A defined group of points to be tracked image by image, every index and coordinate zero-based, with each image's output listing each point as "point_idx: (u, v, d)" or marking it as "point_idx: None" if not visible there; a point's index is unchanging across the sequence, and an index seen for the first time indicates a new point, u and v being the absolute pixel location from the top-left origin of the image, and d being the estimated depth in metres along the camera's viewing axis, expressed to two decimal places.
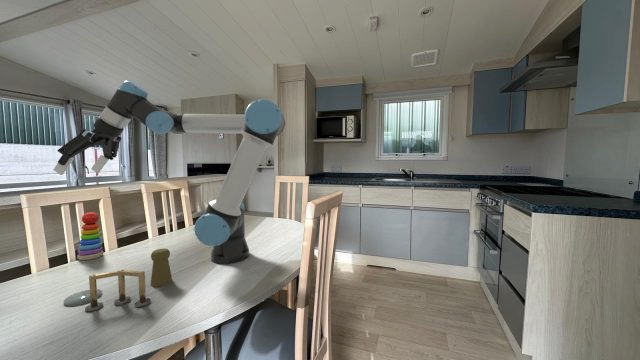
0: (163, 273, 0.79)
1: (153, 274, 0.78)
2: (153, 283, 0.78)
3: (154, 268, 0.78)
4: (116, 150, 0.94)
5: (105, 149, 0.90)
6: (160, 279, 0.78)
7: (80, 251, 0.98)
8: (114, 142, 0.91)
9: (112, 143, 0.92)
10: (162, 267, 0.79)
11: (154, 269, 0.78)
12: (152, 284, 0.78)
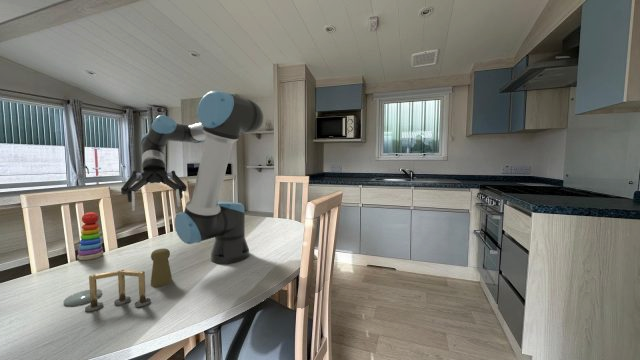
0: (163, 273, 0.79)
1: (153, 274, 0.78)
2: (153, 283, 0.78)
3: (154, 268, 0.78)
4: (180, 181, 0.97)
5: (168, 183, 0.95)
6: (160, 279, 0.78)
7: (80, 251, 0.98)
8: (173, 177, 0.98)
9: (174, 180, 0.98)
10: (162, 267, 0.79)
11: (154, 269, 0.78)
12: (152, 284, 0.78)
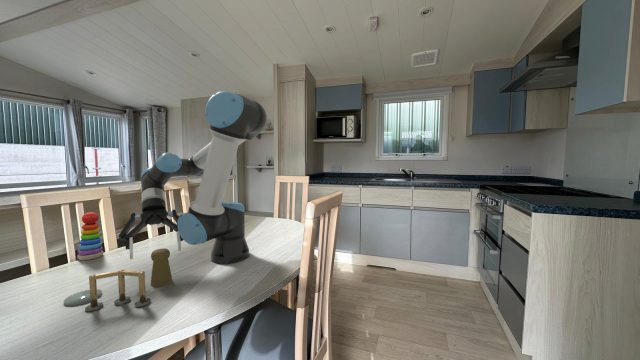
0: (163, 273, 0.79)
1: (153, 274, 0.78)
2: (153, 283, 0.78)
3: (154, 268, 0.78)
4: None
5: (169, 225, 0.91)
6: (160, 279, 0.78)
7: (80, 251, 0.98)
8: (174, 216, 0.93)
9: (175, 219, 0.93)
10: (162, 267, 0.79)
11: (154, 269, 0.78)
12: (152, 284, 0.78)
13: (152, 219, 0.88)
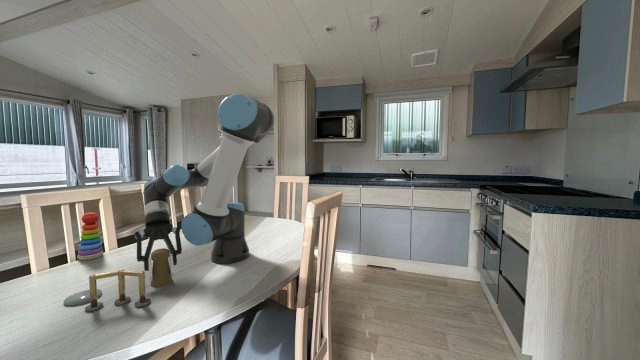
0: (163, 273, 0.79)
1: (153, 274, 0.78)
2: (153, 283, 0.78)
3: (154, 268, 0.78)
4: (178, 241, 0.86)
5: (166, 243, 0.85)
6: (160, 279, 0.78)
7: (80, 251, 0.98)
8: None
9: (175, 237, 0.88)
10: (162, 267, 0.79)
11: (154, 269, 0.78)
12: (152, 284, 0.78)
13: (156, 234, 0.84)
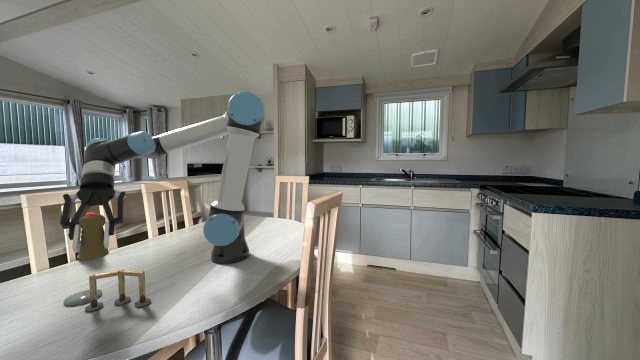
0: (94, 244, 0.64)
1: (81, 244, 0.63)
2: (81, 255, 0.63)
3: (82, 237, 0.63)
4: (120, 208, 0.71)
5: (104, 209, 0.70)
6: (89, 250, 0.63)
7: None
8: (118, 200, 0.73)
9: None
10: (92, 236, 0.64)
11: (82, 238, 0.63)
12: (80, 257, 0.63)
13: (92, 198, 0.69)
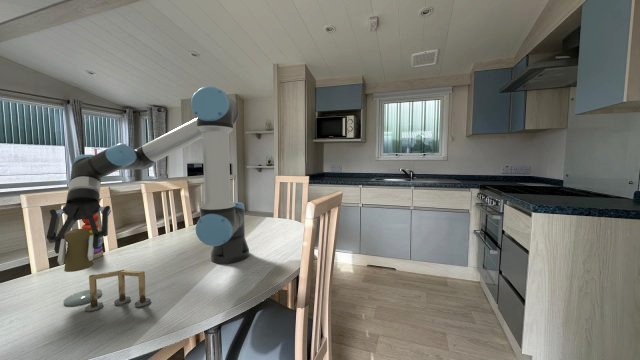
0: (79, 257, 0.69)
1: (67, 257, 0.68)
2: (66, 267, 0.68)
3: (68, 250, 0.68)
4: (104, 222, 0.75)
5: (89, 223, 0.74)
6: (74, 263, 0.68)
7: None
8: None
9: None
10: (77, 249, 0.68)
11: (68, 251, 0.68)
12: (65, 269, 0.68)
13: (77, 213, 0.74)
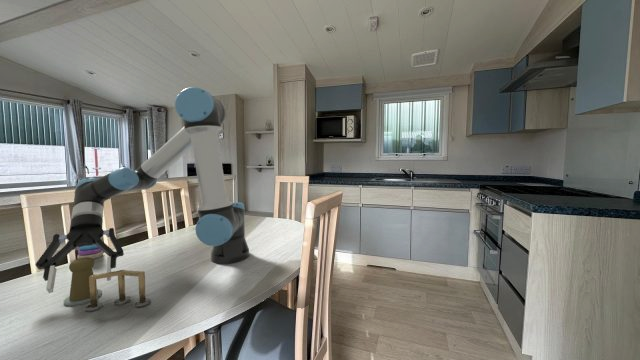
0: (84, 286, 0.69)
1: (71, 287, 0.69)
2: (71, 297, 0.68)
3: (72, 280, 0.69)
4: (116, 243, 0.78)
5: (101, 247, 0.76)
6: (79, 292, 0.69)
7: (80, 251, 0.98)
8: None
9: (111, 240, 0.79)
10: (82, 278, 0.69)
11: (72, 281, 0.69)
12: (70, 298, 0.68)
13: (81, 240, 0.74)
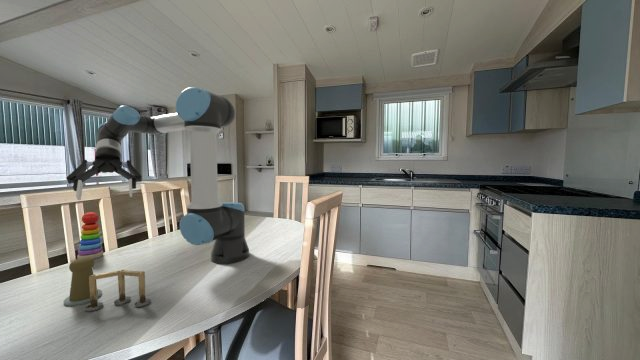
0: (84, 286, 0.69)
1: (71, 287, 0.69)
2: (71, 297, 0.68)
3: (72, 280, 0.69)
4: (135, 171, 0.94)
5: (122, 173, 0.92)
6: (79, 292, 0.69)
7: (80, 251, 0.98)
8: (128, 167, 0.95)
9: (129, 169, 0.95)
10: (82, 278, 0.69)
11: (72, 281, 0.69)
12: (70, 298, 0.68)
13: (104, 166, 0.90)
